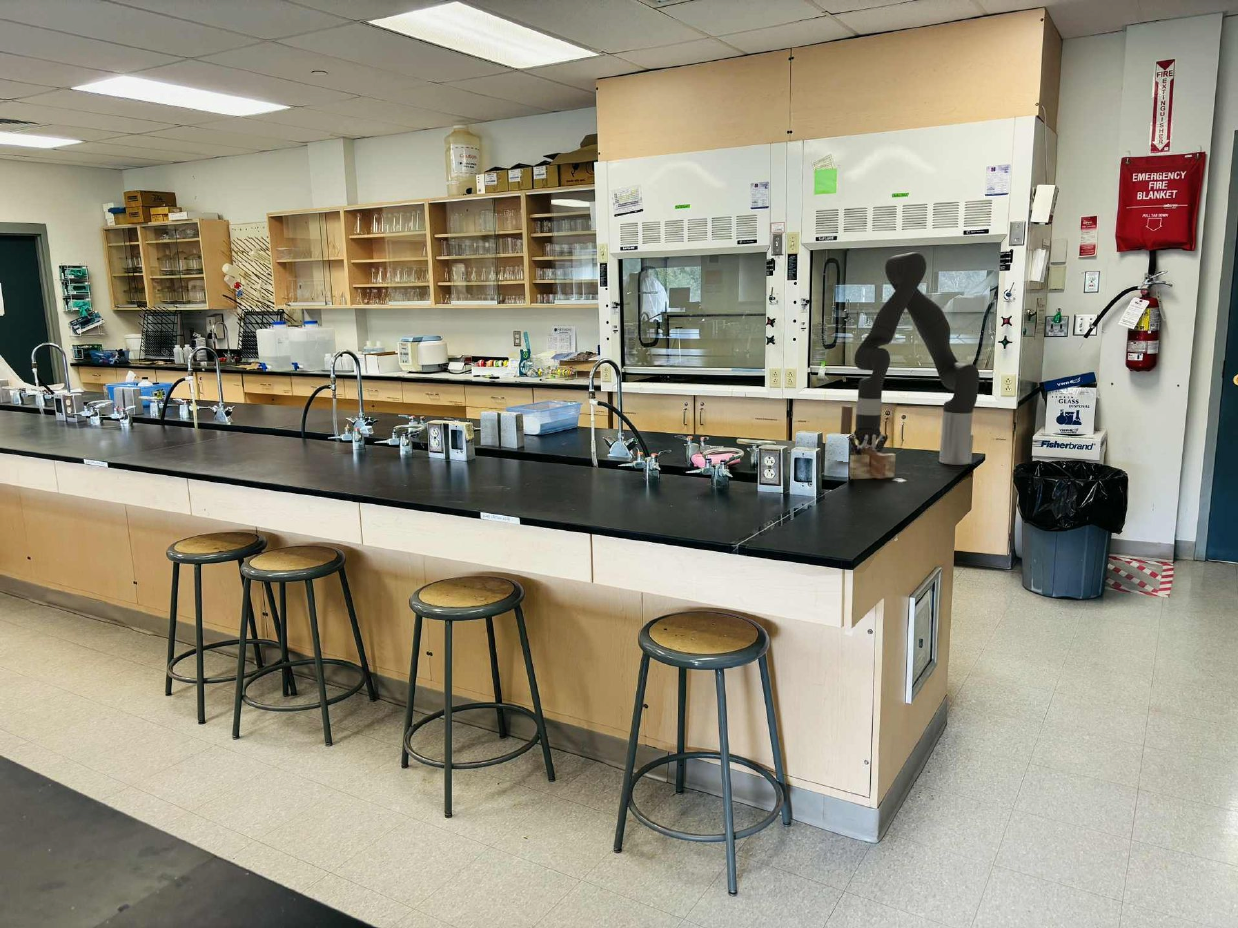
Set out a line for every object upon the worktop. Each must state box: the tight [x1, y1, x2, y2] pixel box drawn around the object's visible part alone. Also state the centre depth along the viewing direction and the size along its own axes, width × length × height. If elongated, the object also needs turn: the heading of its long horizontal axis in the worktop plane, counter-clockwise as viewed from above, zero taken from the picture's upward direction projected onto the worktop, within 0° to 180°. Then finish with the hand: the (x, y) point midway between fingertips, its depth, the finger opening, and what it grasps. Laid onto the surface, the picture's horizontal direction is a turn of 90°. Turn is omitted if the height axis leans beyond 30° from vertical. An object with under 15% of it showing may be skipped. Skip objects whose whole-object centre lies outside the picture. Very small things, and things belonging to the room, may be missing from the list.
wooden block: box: [840, 404, 867, 455], centre depth 292 cm, size 4×11×18 cm, turn 56°
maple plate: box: [848, 453, 896, 480], centre depth 266 cm, size 14×2×7 cm, turn 102°
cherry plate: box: [864, 447, 887, 479], centre depth 266 cm, size 2×13×7 cm, turn 12°
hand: (865, 466), depth 270 cm, fingers closed on cherry plate, 2 cm apart
